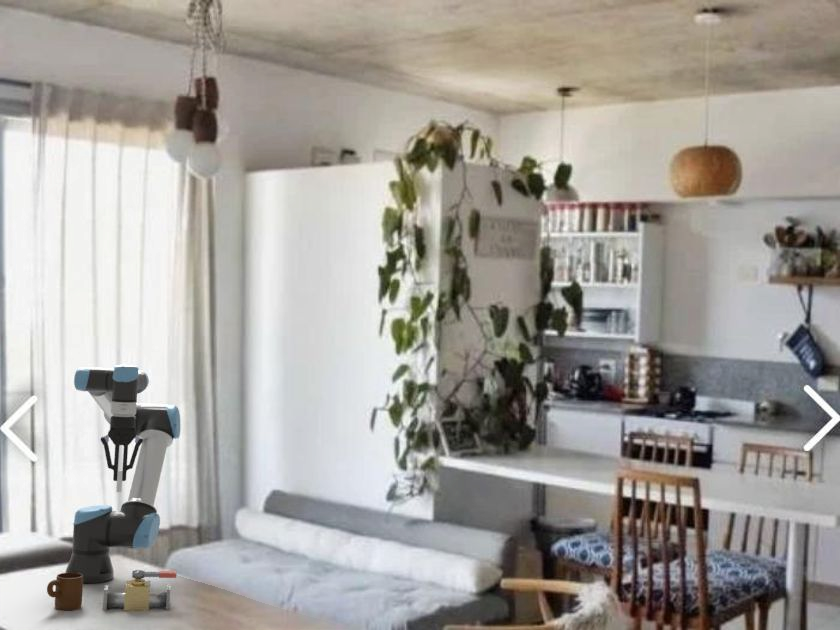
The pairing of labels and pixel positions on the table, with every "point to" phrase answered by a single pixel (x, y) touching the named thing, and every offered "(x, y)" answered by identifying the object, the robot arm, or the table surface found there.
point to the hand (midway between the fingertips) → (118, 491)
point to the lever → (153, 574)
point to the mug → (67, 591)
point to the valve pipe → (136, 597)
